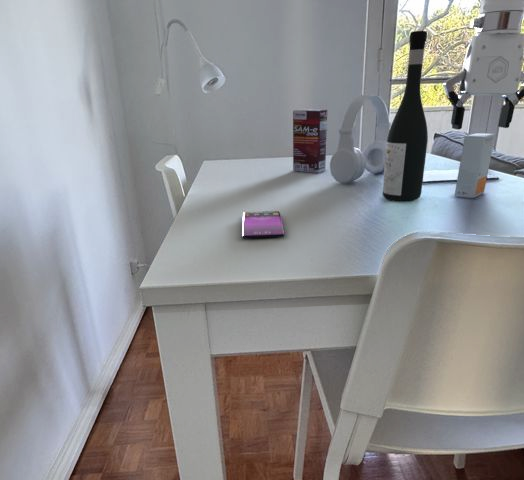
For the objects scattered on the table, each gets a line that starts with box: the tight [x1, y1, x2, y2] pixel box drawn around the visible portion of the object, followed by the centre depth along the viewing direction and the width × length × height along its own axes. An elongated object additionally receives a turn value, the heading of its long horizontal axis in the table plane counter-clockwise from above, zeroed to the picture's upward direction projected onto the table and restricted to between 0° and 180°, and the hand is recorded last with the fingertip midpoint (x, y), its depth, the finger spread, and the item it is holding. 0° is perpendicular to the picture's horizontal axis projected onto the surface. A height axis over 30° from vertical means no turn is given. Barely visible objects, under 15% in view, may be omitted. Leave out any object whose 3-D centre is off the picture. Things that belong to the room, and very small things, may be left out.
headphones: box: [329, 94, 392, 185], centre depth 119 cm, size 20×8×19 cm, turn 138°
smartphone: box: [241, 210, 285, 239], centre depth 85 cm, size 7×15×1 cm, turn 1°
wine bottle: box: [382, 30, 429, 203], centre depth 94 cm, size 8×8×30 cm
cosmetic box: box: [454, 132, 496, 199], centre depth 99 cm, size 6×4×12 cm
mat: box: [422, 168, 500, 185], centre depth 121 cm, size 22×14×1 cm, turn 93°
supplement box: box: [292, 108, 328, 174], centre depth 133 cm, size 9×5×16 cm, turn 55°
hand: (479, 128), depth 95 cm, fingers open, 9 cm apart
